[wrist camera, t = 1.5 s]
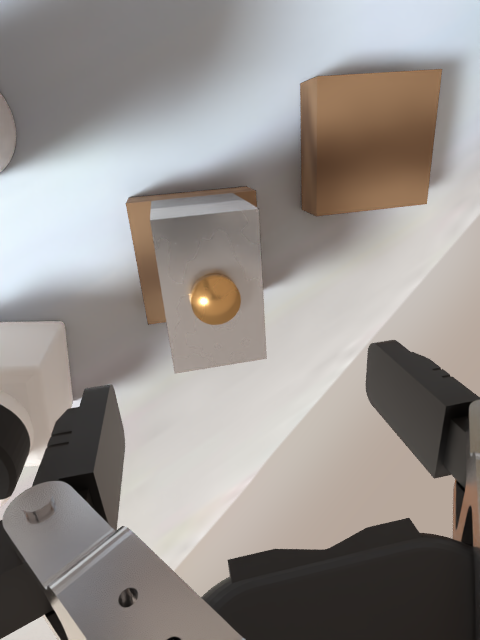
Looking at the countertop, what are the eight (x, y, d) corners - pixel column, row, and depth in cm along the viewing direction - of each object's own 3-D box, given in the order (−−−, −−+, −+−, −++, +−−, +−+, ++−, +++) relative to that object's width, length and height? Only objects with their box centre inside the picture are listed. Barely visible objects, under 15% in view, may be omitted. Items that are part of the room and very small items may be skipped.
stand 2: (300, 83, 26) (317, 76, 23) (413, 76, 27) (441, 68, 24) (301, 209, 29) (316, 216, 27) (402, 198, 30) (426, 204, 28)
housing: (151, 201, 24) (149, 223, 17) (232, 192, 25) (263, 210, 18) (170, 321, 28) (175, 381, 20) (241, 311, 28) (270, 365, 21)
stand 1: (128, 197, 27) (125, 203, 24) (246, 186, 28) (255, 190, 25) (148, 308, 30) (148, 324, 27) (253, 294, 31) (262, 308, 28)
